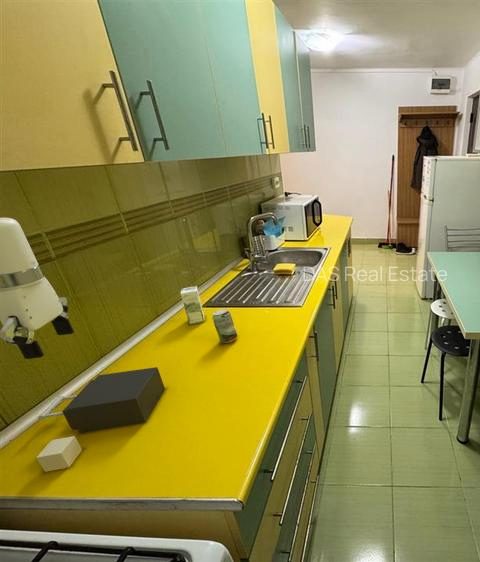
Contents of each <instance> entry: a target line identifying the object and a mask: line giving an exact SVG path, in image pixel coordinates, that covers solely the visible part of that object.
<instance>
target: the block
mask: <svg viewBox="0 0 480 562" xmlns="http://www.w3.org/2000/svg"><path fill="white" fill-rule="evenodd" d="M82 451H83V449H82V447H81V445H80V443H79V441H78V439H77V437H76V436H75V435H73V436H67V437H61V438H56V439H51V440H50V441H49V442H48V444H47V445H46V446H45V447H44V448H43V449H42V450H41V451H40V452H39V454H38V455H37V456H36V457H35V458H36V460H37V461H38V463H39V465H40V466H41V467H42V470H43V471H44V472H45V473H47V472H52V471H57V470H63V469H68V468H70V467H71V466H72V464H73V463H74V462H75V460H76V459H77V457H79V456H80V454H81V452H82Z"/></svg>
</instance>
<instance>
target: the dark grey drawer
mask: <svg viewBox="0 0 480 562" xmlns="http://www.w3.org/2000/svg"><path fill="white" fill-rule="evenodd" d="M94 380H95V379H91V380H90V381H89V382H88V383H87V384H86V385H85V386H84V387H83V388H82V390H81V391H79V393H78V394H74V395H69V396H65V395H59V396H57V398H55V400H53V402H52V403H50V405H48V407H46V408H45V409H44V411H42V412H41V414H39V416H38V417H37V419H38V420H40V421H44V420H45V419H48V418H52V417H58V416H64V418H65V420H66V421H67V424H68V425H69V427H70V430H72V431H76V430H77V431H78V429H77V427H76V425H75V423H74V421H73V419H72V417H71V416H70V414H69V411H68V410H67V409H68V408H69V407H70V406H71V404H72V403H73V402H74V401H75V400H76V399H77V398H78V397H79V396H80V395H81V394H82V393H83V391H84V390H85V389H86V388H87V387H88V386H89V385H90V384H91V383H92V382H93V381H94ZM66 400H67V401H68V400H71V401H70V402H69V403H68V404H67V405H66V406H65V408H64V409H62V410H61V411H59V412H53V411H54V410H55V409H57V407H59V405H60V404H62V402H64V401H66Z"/></svg>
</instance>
